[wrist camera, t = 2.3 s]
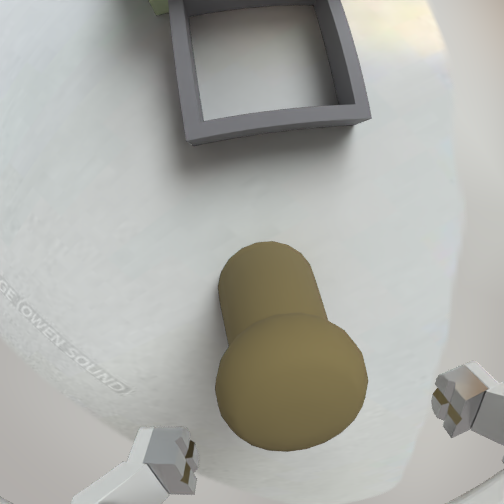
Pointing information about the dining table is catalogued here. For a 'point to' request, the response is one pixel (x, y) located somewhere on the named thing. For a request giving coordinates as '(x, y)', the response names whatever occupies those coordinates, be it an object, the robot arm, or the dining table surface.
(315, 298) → the brown knobbed peg
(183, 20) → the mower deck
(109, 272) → the dining table surface
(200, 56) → the dining table surface
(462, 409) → the robot arm
